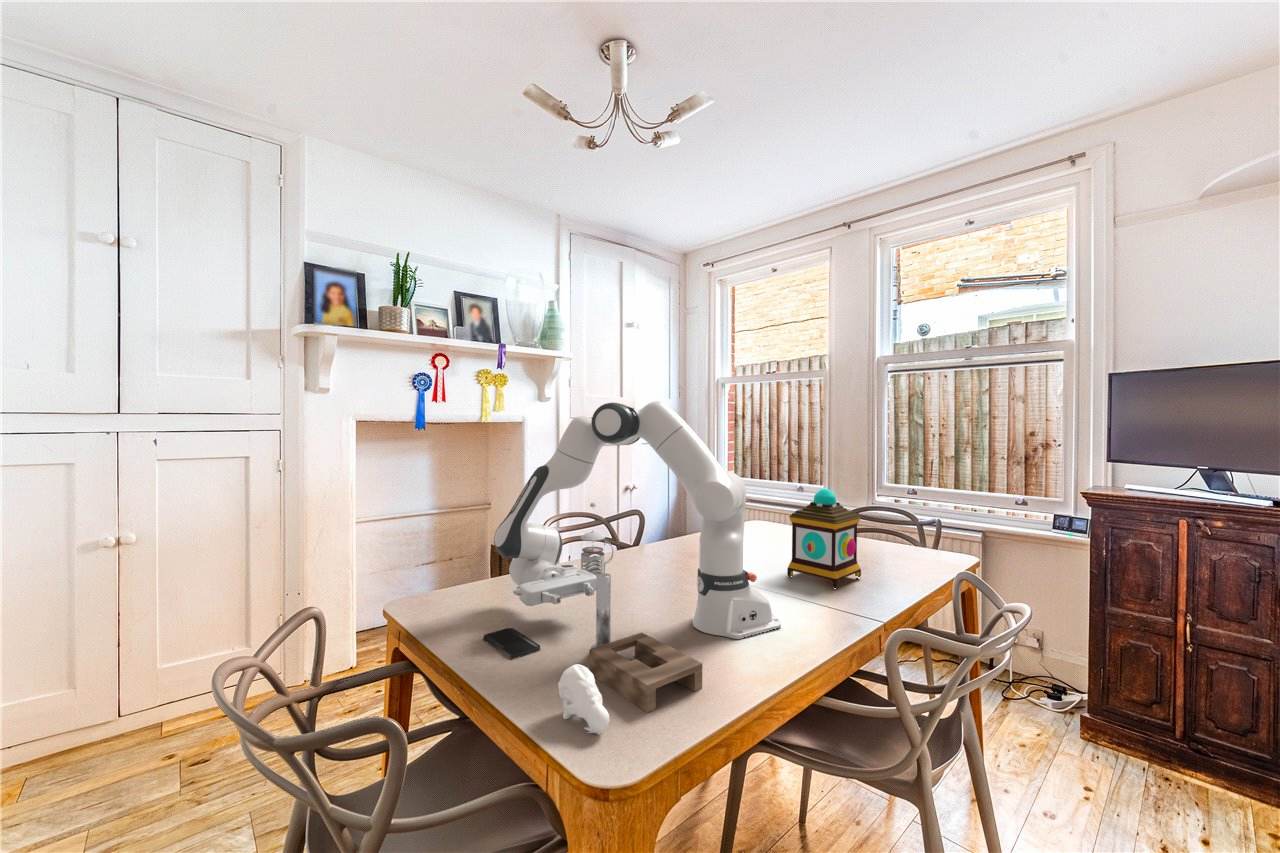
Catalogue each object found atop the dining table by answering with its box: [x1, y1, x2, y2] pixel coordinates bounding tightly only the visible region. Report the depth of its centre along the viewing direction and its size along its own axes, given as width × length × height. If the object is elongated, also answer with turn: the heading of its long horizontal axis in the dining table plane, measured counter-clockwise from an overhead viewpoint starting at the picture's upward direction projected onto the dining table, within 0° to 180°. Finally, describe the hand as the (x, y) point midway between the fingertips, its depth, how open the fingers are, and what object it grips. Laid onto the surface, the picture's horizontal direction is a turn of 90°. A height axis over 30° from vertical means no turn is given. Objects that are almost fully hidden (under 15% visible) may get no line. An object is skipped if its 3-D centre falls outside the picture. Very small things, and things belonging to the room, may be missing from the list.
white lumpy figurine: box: [557, 663, 610, 736], centre depth 94 cm, size 6×8×12 cm
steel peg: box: [590, 572, 612, 649], centre depth 120 cm, size 6×6×18 cm
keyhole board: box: [588, 632, 703, 713], centre depth 109 cm, size 19×14×5 cm
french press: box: [580, 502, 614, 576], centre depth 176 cm, size 10×12×25 cm
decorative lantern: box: [786, 487, 862, 589], centre depth 177 cm, size 20×20×30 cm
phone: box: [483, 627, 541, 660], centre depth 125 cm, size 8×1×15 cm
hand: (575, 596), depth 129 cm, fingers open, 8 cm apart
